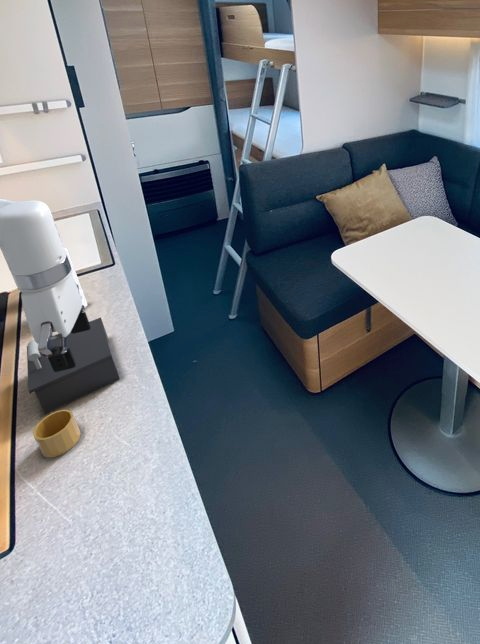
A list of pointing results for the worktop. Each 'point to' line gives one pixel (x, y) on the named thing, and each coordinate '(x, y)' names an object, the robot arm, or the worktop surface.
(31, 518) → the worktop surface
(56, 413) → the cup
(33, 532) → the worktop surface
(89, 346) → the lid
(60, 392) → the dark grey storage bin
